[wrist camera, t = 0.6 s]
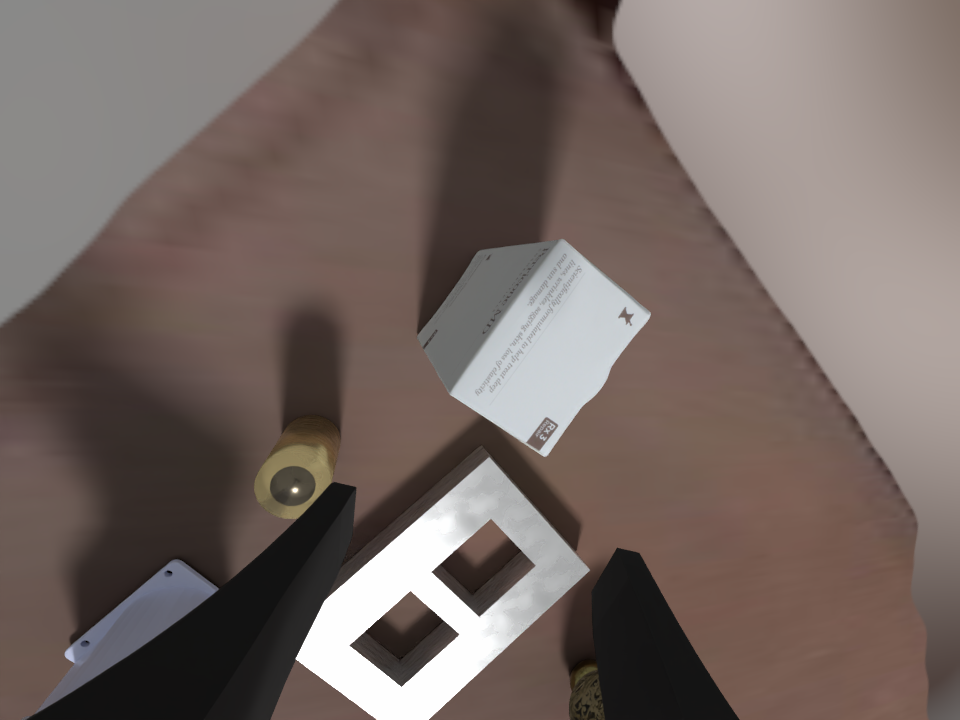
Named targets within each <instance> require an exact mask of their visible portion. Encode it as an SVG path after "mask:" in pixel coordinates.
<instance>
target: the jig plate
mask: <svg viewBox="0 0 960 720" xmlns="http://www.w3.org/2000/svg"><path fill="white" fill-rule="evenodd" d="M490 519H492V520H493V521H494V522H495V523H496V524H497V525H498V526H499V527H500V528H501V530H502V531H503V532H504V533H505V534H506V535H507V536H508V537H509V538H510V539H511V540H512V541H513V542H514V543H515V544H516V545H517V546H518V547H519V549H520V550H521V552H520V553H518V554H517V555H516V556H515V557H514V558H513V559H512V560H511V561H510V562H508V563H507V564H506V565H505V566H504V567H503V568H502V569H501V570H500V571H499V572H497V573H496V574H495V575H494V576H493V577H492V578H491V579H490V580H489V581H487V582H486V583H485V584H484V585H483V586H482V587H481V588H480V589H479V590H477V591H476V592H475V593H474V594H473V595H472V594H471V593H470V592H469V591H468V590H467V589H466V588H465V587H464V586H462V585H461V584H460V583H459V582H458V581H457V580H456V579H455V578H454V577H453V576H452V575H451V574H450V573H449V572H448V571H447V570H446V569H445V568H444V567H443V566H441V565H440V563H442V562H443V561H444V560H445V559H446V558H447V557H448V556H449V555H450V554H452V553H453V552H454V551H455V550H456V549H457V548H458V547H459V546H461V545H462V544H463V543H464V542H465V541H466V540H467V539H468V538H470V537H471V536H472V535H473V534H474V533H475V532H476V531H477V530H479V529H480V528H481V527H482V526H483V525H484V524H485V523H486V522H488V521H489V520H490ZM589 571H590V569H589V568H588V567H587V565H586V564H585V563H584V561H583V560H582V559H581V557H580V556H579V555H578V553H577V552H576V551H575V550H574V549H573V547H572V546H571V545H570V544H569V543H568V542H567V541H566V540H565V538H564V537H563V536H562V535H561V534H560V533H559V532H558V531H557V529H556V528H555V527H554V526H553V525H552V524H551V523H550V522H549V520H548V519H547V518H546V517H545V516H544V515H543V514H542V513H541V511H540V510H539V509H538V508H537V507H536V506H535V505H534V504H533V502H532V501H531V500H530V499H529V498H528V497H527V496H526V495H525V493H524V492H523V491H522V490H521V489H520V488H519V487H518V486H517V484H516V483H515V482H514V481H513V480H512V479H511V478H510V477H509V475H508V474H507V473H506V472H505V471H504V470H503V469H502V468H501V466H500V465H499V464H498V463H497V462H496V461H495V460H494V458H493V457H492V456H491V455H490V454H489V453H488V452H487V451H486V449H485V448H484V447H483V446H482V445H480V446H479V447H478V448H477V449H476V450H475V451H473V452H472V453H471V454H470V455H469V456H468V457H467V458H465V459H464V460H463V461H462V462H461V463H460V464H459V465H457V466H456V467H455V468H454V469H453V470H452V471H450V472H449V473H448V474H447V475H446V476H445V477H444V478H442V479H441V480H440V481H439V482H438V483H437V484H436V485H434V486H433V487H432V488H431V489H430V490H429V491H428V492H426V493H425V494H424V495H423V496H422V497H421V498H420V499H418V500H417V501H416V502H415V503H414V504H413V505H412V506H410V507H409V508H408V509H407V510H406V511H405V512H404V513H402V514H401V515H400V516H399V517H398V518H397V519H395V520H394V521H393V522H392V523H391V524H390V525H389V526H387V527H386V528H385V529H384V530H383V531H382V532H381V533H379V534H378V535H377V536H376V537H375V538H374V539H373V540H371V541H370V542H369V543H368V544H367V545H366V546H365V547H363V548H362V549H361V550H360V551H359V552H358V553H357V554H355V555H354V556H353V557H352V558H351V559H350V560H349V561H347V562H346V563H345V564H344V565H343V566H342V567H341V568H340V570H339V573H338V575H337V577H336V579H335V581H334V583H333V586H332V588H331V590H330V592H329V594H328V596H327V598H326V600H325V602H324V604H323V606H322V608H321V610H320V612H319V614H318V616H317V618H316V620H315V622H314V624H313V626H312V628H311V630H310V632H309V634H308V636H307V638H306V640H305V642H304V644H303V646H302V648H301V650H300V652H299V654H298V656H297V658H296V659H297V660H298V661H300V662H301V663H303V664H304V665H305V666H307V667H308V668H309V669H311V670H312V671H313V672H315V673H316V674H317V675H319V676H320V677H321V678H323V679H324V680H326V681H327V682H328V683H330V684H331V685H332V686H334V687H335V688H336V689H338V690H339V691H340V692H342V693H343V694H344V695H346V696H347V697H349V698H350V699H351V700H353V701H354V702H355V703H357V704H358V705H359V706H361V707H362V708H363V709H365V710H366V711H367V712H369V713H370V714H371V715H373V716H374V717H376V718H377V719H378V720H428V719H429V718H430V717H431V716H432V715H433V714H434V713H436V712H437V711H438V710H439V709H440V708H441V707H442V706H443V705H444V704H445V703H446V702H447V701H449V700H450V699H451V698H452V697H453V696H454V695H455V694H456V693H457V692H458V691H459V690H461V689H462V688H463V687H464V686H465V685H466V684H467V683H468V682H469V681H470V680H471V679H472V678H474V677H475V676H476V675H477V674H478V673H479V672H480V671H481V670H482V669H483V668H484V667H486V666H487V665H488V664H489V663H490V662H491V661H492V660H493V659H494V658H495V657H496V656H497V655H499V654H500V653H501V652H502V651H503V650H504V649H505V648H506V647H507V646H508V645H509V644H510V643H512V642H513V641H514V640H515V639H516V638H517V637H518V636H519V635H520V634H521V633H522V632H524V631H525V630H526V629H527V628H528V627H529V626H530V625H531V624H532V623H533V622H534V621H535V620H537V619H538V618H539V617H540V616H541V615H542V614H543V613H544V612H545V611H546V610H547V609H549V608H550V607H551V606H552V605H553V604H554V603H555V602H556V601H557V600H558V599H559V598H560V597H562V596H563V595H564V594H565V593H566V592H567V591H568V590H569V589H570V588H571V587H572V586H573V585H575V584H576V583H577V582H578V581H579V580H580V579H581V578H582V577H583V576H584V575H585V574H587V573H588V572H589ZM410 590H411V591H412V592H413V593H414V594H415V595H416V596H418V597H419V598H420V599H421V600H422V601H423V602H424V603H425V604H426V605H428V606H429V607H430V608H431V609H432V610H433V611H434V612H435V613H436V614H438V615H439V616H440V617H441V618H442V619H443V620H444V621H443V622H442V623H441V624H440V625H439V626H438V627H436V628H435V629H434V630H433V631H432V632H431V633H430V634H429V635H428V636H427V637H425V638H424V639H423V640H422V641H421V642H420V643H419V644H418V645H417V646H415V647H414V648H413V649H412V650H411V651H410V652H409V653H408V654H407V655H405V656H404V657H403V658H402V659H401V660H399V659H398V658H396V657H395V656H394V655H393V654H392V653H390V652H389V651H388V650H387V649H385V648H384V647H383V646H382V645H381V644H379V643H378V642H377V641H376V640H374V639H373V638H372V637H371V636H369V635H368V634H367V633H366V632H365V630H366V629H367V628H368V627H370V626H371V625H372V624H373V623H374V622H375V621H376V620H377V619H379V618H380V617H381V616H382V615H383V614H384V613H385V612H386V611H388V610H389V609H390V608H391V607H392V606H393V605H394V604H395V603H397V602H398V601H399V600H400V599H401V598H402V597H403V596H404V595H406V594H407V593H408V592H409V591H410Z"/></svg>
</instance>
